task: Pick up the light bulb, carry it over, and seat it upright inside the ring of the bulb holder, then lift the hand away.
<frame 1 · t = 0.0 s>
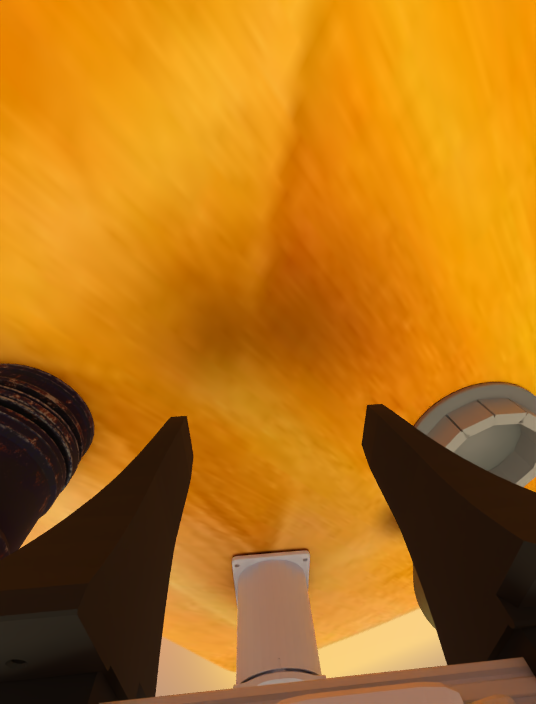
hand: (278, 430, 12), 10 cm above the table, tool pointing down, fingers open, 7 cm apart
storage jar: (27, 418, 23), on the table
light bulb: (408, 512, 31), on the table
bulb holder: (471, 440, 27), on the table
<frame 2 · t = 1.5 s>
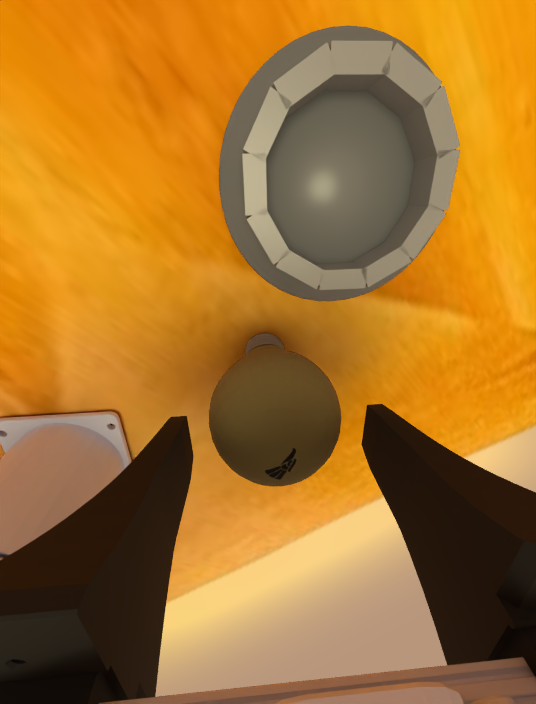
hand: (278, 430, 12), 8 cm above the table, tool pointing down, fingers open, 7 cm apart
light bulb: (264, 345, 20), on the table
bulb holder: (335, 186, 16), on the table
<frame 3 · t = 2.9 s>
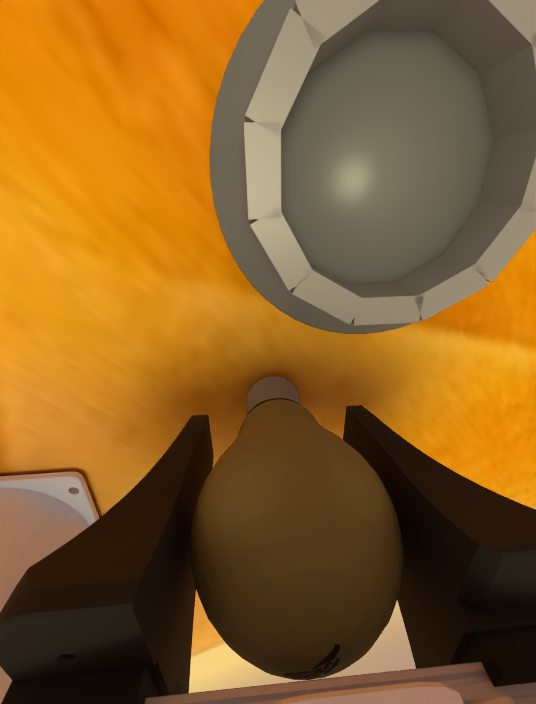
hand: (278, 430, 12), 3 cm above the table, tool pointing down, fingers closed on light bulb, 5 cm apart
light bulb: (272, 389, 15), on the table, touching gripper
bulb holder: (376, 177, 11), on the table
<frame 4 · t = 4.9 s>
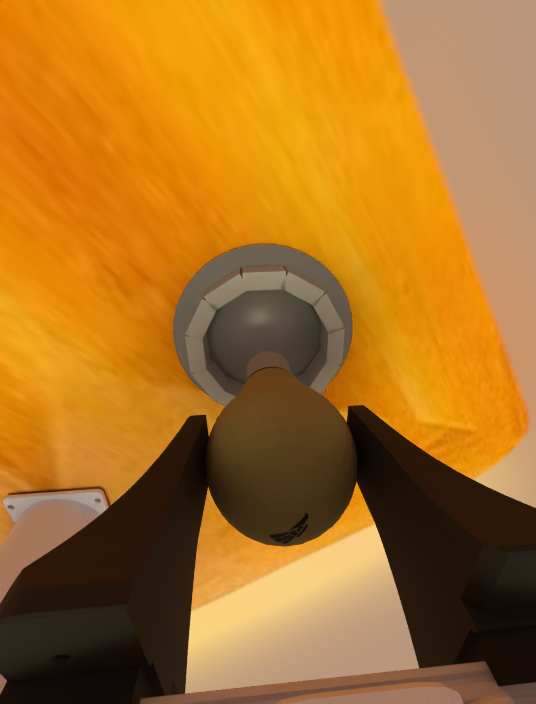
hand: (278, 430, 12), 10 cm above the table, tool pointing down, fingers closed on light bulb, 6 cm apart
light bulb: (267, 363, 18), point 4 cm above the table, touching gripper
bulb holder: (264, 335, 21), on the table
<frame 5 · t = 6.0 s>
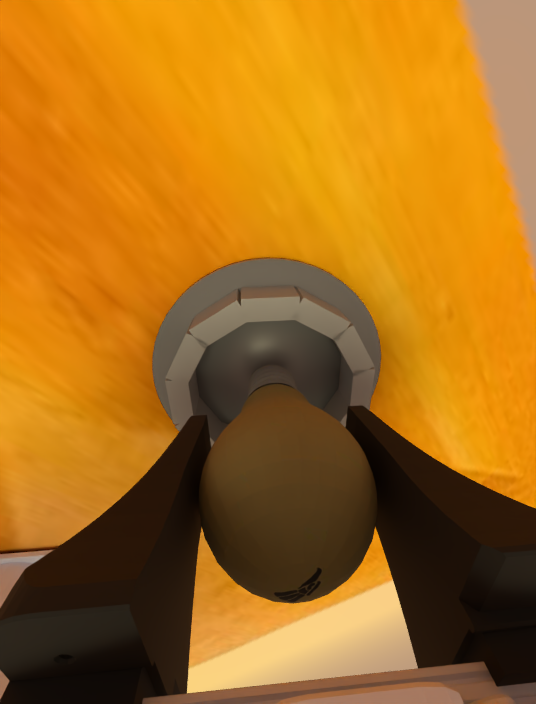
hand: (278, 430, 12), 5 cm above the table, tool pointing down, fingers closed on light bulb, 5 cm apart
light bulb: (270, 377, 17), resting on bulb holder, touching gripper
bulb holder: (268, 371, 17), on the table
when the fingers open (5 cm above the table, at t = 6.8 s): light bulb stays where it is, resting on bulb holder.
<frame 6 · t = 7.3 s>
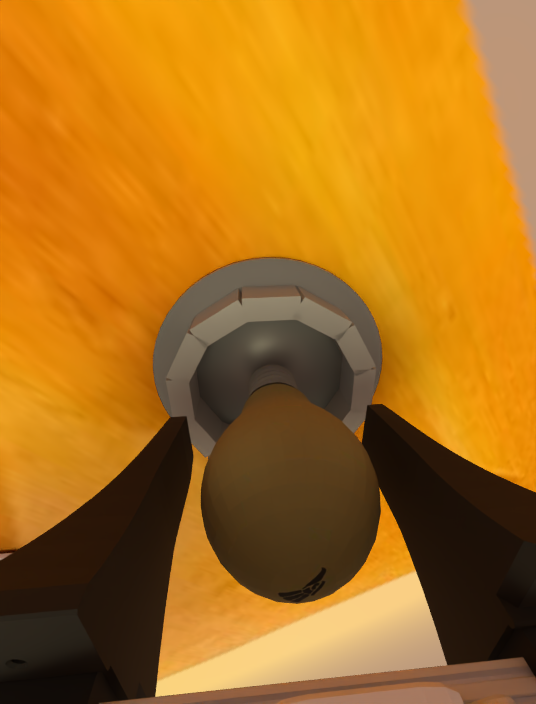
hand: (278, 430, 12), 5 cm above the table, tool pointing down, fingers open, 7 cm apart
light bulb: (271, 377, 17), resting on bulb holder
bulb holder: (269, 371, 17), on the table
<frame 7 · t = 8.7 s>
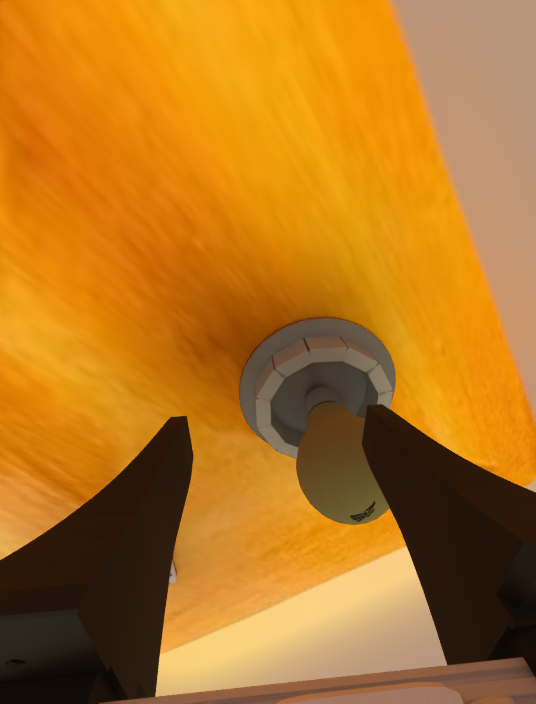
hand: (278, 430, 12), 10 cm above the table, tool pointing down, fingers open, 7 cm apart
light bulb: (318, 394, 24), resting on bulb holder
bulb holder: (316, 390, 24), on the table
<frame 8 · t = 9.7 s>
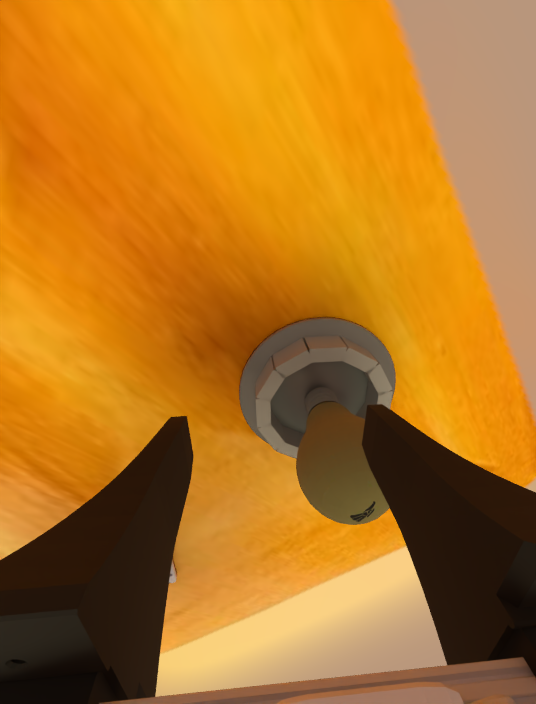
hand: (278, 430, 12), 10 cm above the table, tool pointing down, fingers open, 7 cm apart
light bulb: (318, 394, 24), resting on bulb holder
bulb holder: (316, 390, 24), on the table
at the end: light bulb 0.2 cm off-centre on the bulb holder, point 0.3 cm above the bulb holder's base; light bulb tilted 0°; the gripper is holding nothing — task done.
